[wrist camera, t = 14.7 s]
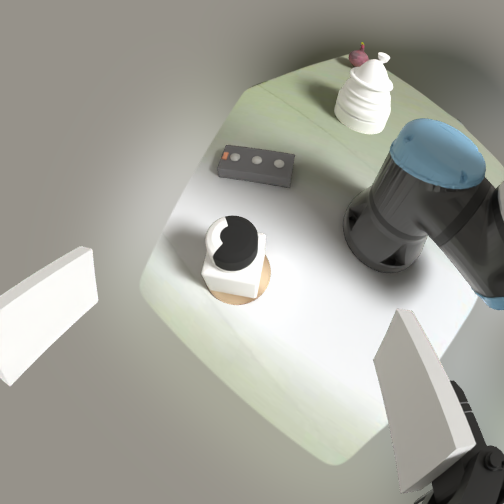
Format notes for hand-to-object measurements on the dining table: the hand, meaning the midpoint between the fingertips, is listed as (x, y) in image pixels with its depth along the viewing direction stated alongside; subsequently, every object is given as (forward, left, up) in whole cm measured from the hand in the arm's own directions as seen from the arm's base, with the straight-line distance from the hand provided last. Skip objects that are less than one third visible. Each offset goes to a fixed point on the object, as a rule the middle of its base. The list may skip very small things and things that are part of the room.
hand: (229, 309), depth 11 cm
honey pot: (-52, -24, -30) cm, 65 cm away
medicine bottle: (-6, -10, -29) cm, 32 cm away
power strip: (-21, -24, -30) cm, 44 cm away
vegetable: (-74, -41, -30) cm, 90 cm away
